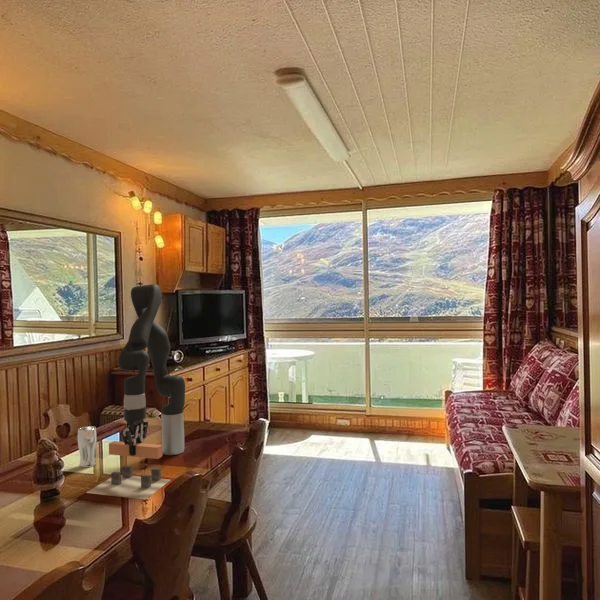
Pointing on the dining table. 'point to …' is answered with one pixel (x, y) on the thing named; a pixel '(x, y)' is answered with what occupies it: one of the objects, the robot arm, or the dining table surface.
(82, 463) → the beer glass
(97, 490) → the board
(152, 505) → the dining table surface
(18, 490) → the dining table surface
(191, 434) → the dining table surface
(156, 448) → the bar
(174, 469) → the dining table surface
